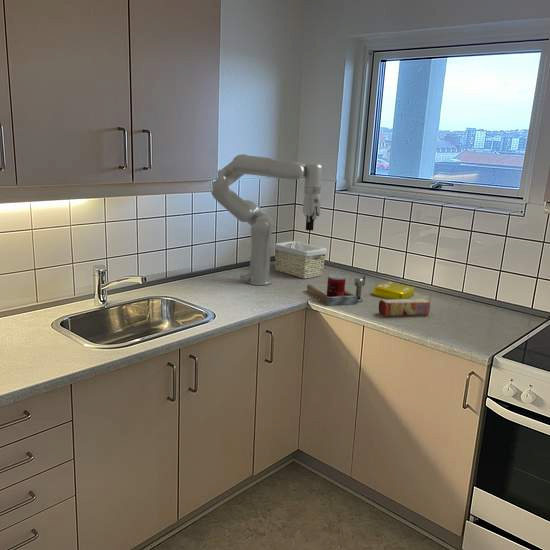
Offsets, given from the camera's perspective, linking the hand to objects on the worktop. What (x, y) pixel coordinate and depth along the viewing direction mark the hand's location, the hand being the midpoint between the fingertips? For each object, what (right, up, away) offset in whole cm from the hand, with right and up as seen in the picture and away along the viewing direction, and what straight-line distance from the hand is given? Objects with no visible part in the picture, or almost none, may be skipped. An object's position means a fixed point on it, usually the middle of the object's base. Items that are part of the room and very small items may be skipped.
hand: (309, 230), depth 258 cm
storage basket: (-4, -20, +30) cm, 37 cm away
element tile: (+39, -31, 0) cm, 50 cm away
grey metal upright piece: (+21, -32, -13) cm, 41 cm away
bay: (+9, -31, -9) cm, 33 cm away
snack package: (+38, -38, -27) cm, 60 cm away
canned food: (+11, -32, -13) cm, 36 cm away
